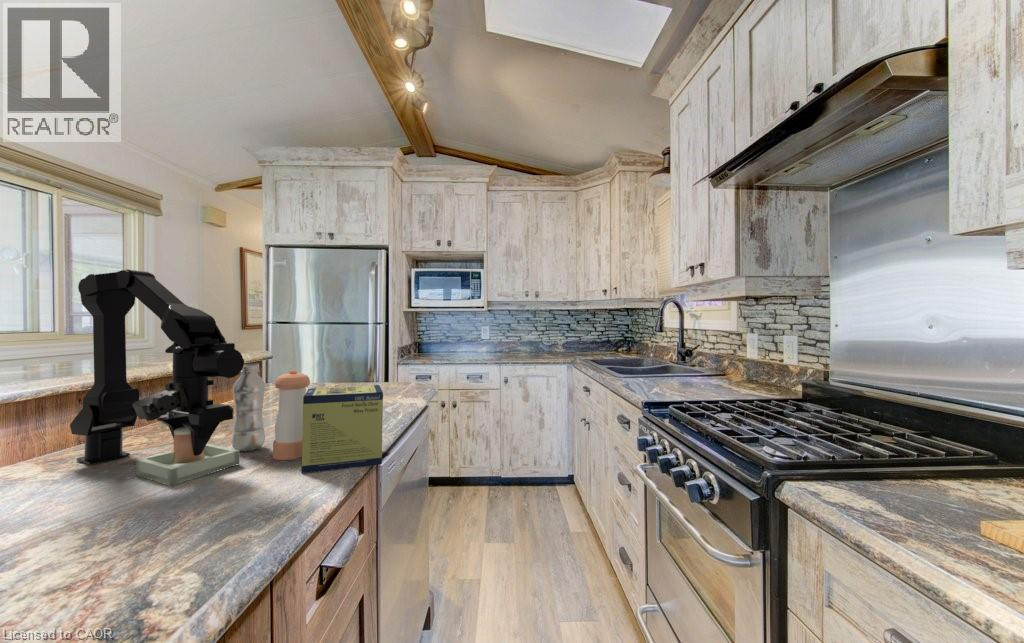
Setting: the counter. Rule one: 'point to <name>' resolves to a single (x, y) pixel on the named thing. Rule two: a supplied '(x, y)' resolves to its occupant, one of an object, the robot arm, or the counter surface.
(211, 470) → the tray
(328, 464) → the protein box
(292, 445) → the pepper shaker
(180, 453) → the spice pot
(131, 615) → the counter surface
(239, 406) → the plastic bottle
